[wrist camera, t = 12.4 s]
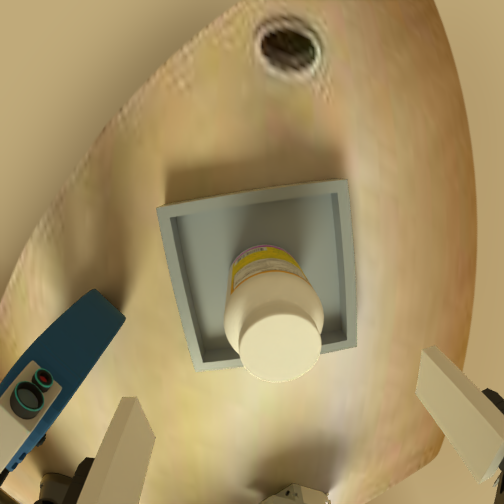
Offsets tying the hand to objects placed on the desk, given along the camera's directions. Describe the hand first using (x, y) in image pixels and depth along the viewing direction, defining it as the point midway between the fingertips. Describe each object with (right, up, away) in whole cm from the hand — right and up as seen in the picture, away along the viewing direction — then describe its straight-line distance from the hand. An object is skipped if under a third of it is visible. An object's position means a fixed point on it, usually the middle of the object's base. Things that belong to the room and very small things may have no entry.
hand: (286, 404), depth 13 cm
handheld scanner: (-20, -2, +19) cm, 27 cm away
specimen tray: (0, +5, +18) cm, 18 cm away
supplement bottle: (0, +4, +17) cm, 18 cm away
